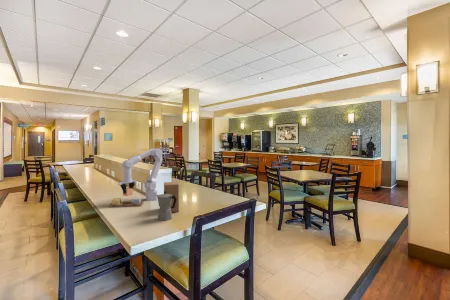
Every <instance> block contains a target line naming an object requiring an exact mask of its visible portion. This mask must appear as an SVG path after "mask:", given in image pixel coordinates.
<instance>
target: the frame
mask: <svg viewBox="0 0 450 300" xmlns="http://www.w3.org/2000/svg"><path fill="white" fill-rule="evenodd" d="M143 204H144V200H141V203H140V204H132V200H130V201H121V203H120V204H115V205H112V202H110V203H109V204H108V208H110V209H111V208H133V207H142V206H143Z"/></svg>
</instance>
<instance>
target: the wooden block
mask: <svg viewBox="0 0 450 300" xmlns="http://www.w3.org/2000/svg"><path fill="white" fill-rule="evenodd" d="M179 186H180V185H179V182H178V181H168V182H166V181H165V182H164V183H163V192H164V191H166V194H171V195H172V196H175V197H176V198H177V200H176V204H175V207H174V208H171V207H173V203H174V199H172V200H171V205H170V208H171V213H172V214H173V213H179V212H180V205H179V204H180V198H179V196H180V195H179V193H180V187H179Z"/></svg>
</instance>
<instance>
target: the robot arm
mask: <svg viewBox="0 0 450 300" xmlns="http://www.w3.org/2000/svg"><path fill="white" fill-rule="evenodd" d="M149 156H152V157H153V159H154V160H155V161H154V164H153V167H152V170H151V172H150V174H149V177H148V179H146V181H145V183H144V188H145V201H148V202H150V201H158V197H157V196H156V195H159V191H158V189H156V188H157V178H158V173H159V171H160V168H161V165H162V163H163V151H162V149H160V148H153V147H152V148H151V149H148V150H147V151H145V152H143V153H141V154H140V155H137V154H136V155H133V156H131V158H127V159H125V160H124V161H123V162H122V163H121V165H122V167H123V180H122V181H120V182H118V186H120V188H121V190H122V194H123V193H124V194H126V188H132V189H134V187H135V186H136V183H137V179H133V177H132V175H133V173H132V168H133V166H134V165H136V164H138V163H140V162H141V160H143V159H145V158H147V157H149Z"/></svg>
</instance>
